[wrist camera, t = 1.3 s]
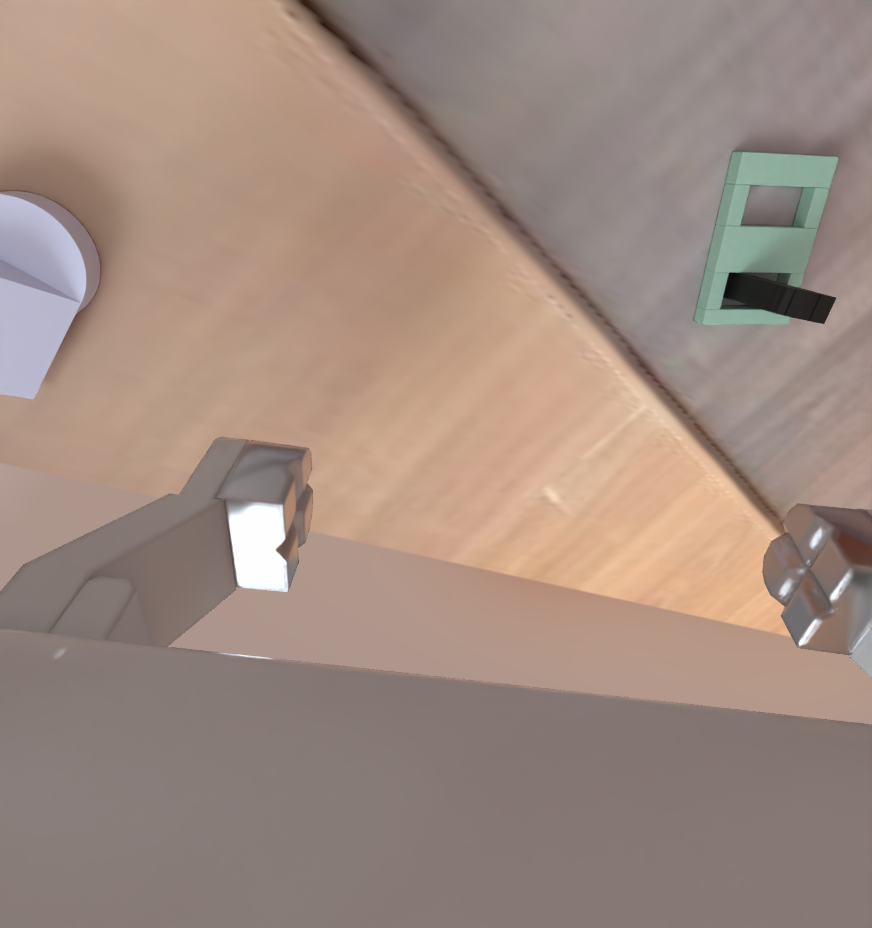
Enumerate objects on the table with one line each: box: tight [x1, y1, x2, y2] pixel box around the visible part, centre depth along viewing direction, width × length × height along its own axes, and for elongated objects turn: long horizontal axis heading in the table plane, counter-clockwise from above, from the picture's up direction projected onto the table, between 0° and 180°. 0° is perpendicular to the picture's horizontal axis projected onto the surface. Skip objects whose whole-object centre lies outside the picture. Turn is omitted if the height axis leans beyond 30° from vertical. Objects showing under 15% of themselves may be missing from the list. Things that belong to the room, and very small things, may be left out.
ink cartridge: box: [723, 272, 836, 324], centre depth 53 cm, size 5×2×8 cm, turn 78°
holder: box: [694, 151, 839, 325], centre depth 54 cm, size 14×9×2 cm, turn 178°
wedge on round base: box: [0, 191, 100, 399], centre depth 42 cm, size 9×7×13 cm
